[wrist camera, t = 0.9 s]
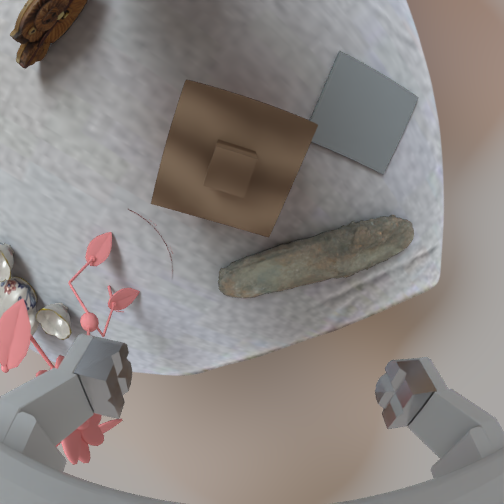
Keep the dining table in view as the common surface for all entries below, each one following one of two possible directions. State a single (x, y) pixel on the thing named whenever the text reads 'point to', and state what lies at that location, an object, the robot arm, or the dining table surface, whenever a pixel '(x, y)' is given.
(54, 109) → the dining table surface
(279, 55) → the dining table surface
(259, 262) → the long grey stone
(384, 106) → the grey mat
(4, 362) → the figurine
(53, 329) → the chinaware
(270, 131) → the walnut lid
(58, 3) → the wooden carving
